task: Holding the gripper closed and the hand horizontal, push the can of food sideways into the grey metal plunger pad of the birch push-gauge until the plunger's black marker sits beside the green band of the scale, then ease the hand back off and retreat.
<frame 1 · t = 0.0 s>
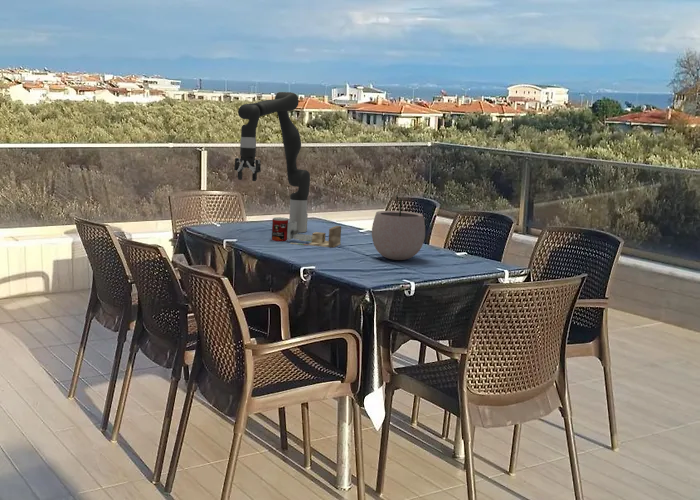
hand: (247, 180, 395), 29 cm above the table, tool pointing down, fingers open, 8 cm apart
plant pot: (396, 259, 368), on the table
canned food: (279, 240, 404), on the table
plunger: (302, 231, 400), point 6 cm above the table, slide at 0.0 cm
gauge housing: (302, 242, 401), on the table
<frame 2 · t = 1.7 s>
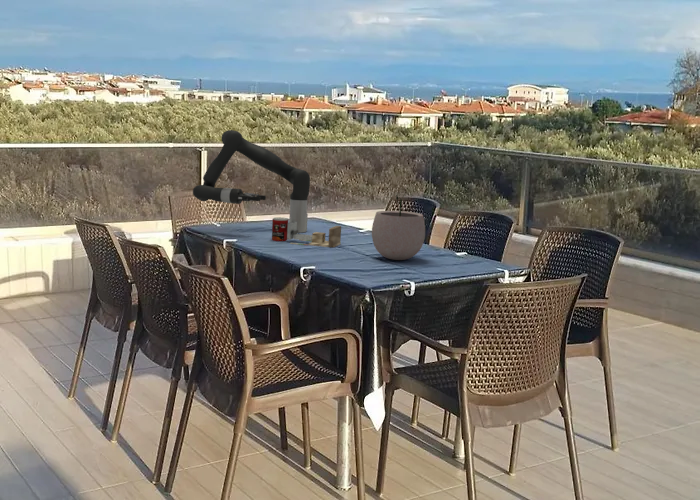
hand: (262, 198, 404), 20 cm above the table, tool horizontal, fingers open, 6 cm apart
nothing on the table moved.
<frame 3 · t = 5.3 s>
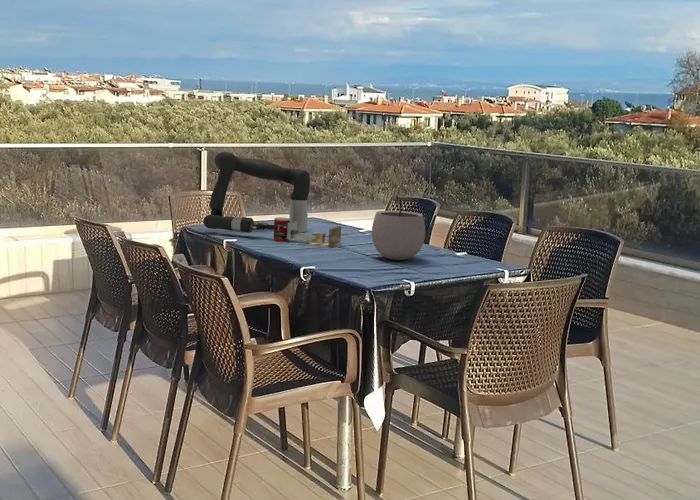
hand: (274, 227, 404), 6 cm above the table, tool horizontal, fingers closed
canned food: (281, 240, 404), on the table, touching gripper
everything else where it was.
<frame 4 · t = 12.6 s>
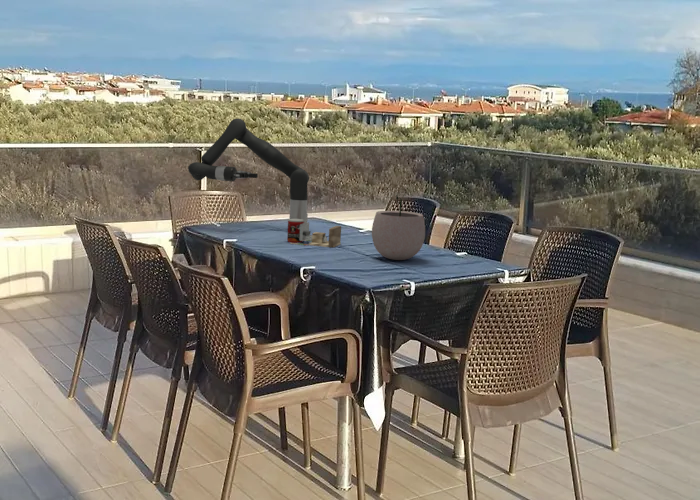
hand: (257, 175, 416), 30 cm above the table, tool horizontal, fingers closed
canned food: (295, 242, 402), on the table
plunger: (314, 232, 399), point 6 cm above the table, slide at 6.4 cm
everything else where it was.
at the end: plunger slide at 6.4 cm; canned food tilted 0°; canned food moved 8.1 cm from its start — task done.
